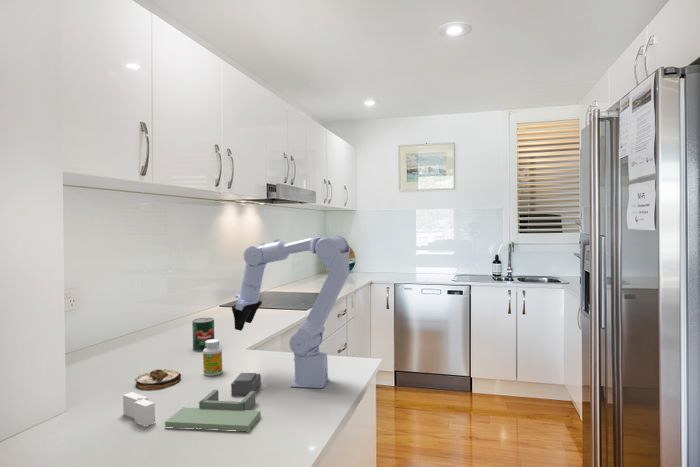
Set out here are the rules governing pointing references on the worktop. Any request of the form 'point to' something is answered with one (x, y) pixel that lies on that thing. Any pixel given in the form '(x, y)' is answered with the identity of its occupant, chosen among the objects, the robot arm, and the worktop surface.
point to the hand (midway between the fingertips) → (243, 325)
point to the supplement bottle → (212, 358)
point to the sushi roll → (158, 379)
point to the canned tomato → (202, 332)
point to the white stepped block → (139, 408)
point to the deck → (217, 414)
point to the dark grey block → (245, 384)
